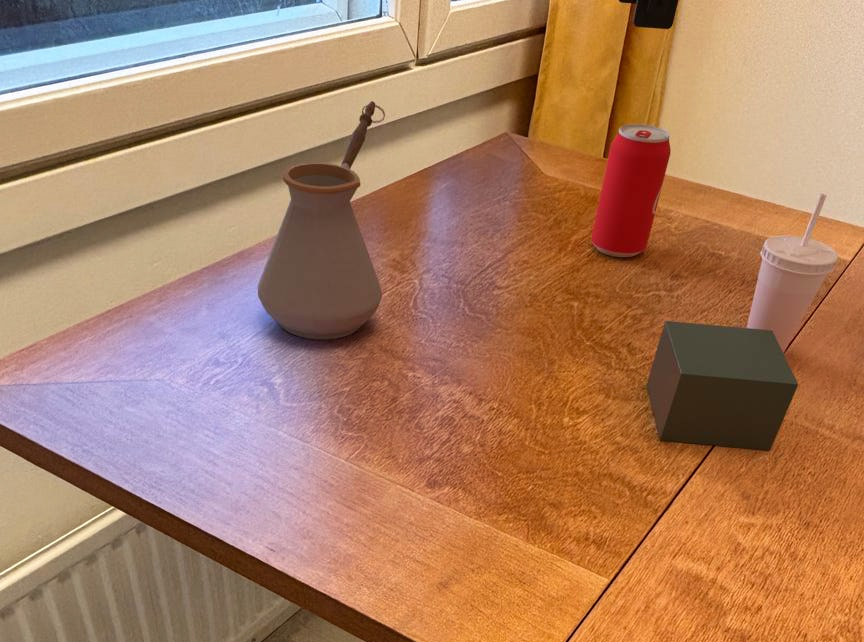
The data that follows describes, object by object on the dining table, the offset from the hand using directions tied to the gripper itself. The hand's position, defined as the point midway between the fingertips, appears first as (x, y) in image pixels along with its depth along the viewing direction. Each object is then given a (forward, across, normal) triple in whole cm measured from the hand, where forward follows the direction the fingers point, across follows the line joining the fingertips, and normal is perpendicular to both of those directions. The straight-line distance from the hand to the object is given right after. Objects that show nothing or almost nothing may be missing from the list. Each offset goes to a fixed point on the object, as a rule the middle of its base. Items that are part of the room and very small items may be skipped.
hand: (642, 14), depth 76 cm
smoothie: (+24, -12, -16) cm, 31 cm away
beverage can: (+24, +11, -5) cm, 27 cm away
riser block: (+24, -24, -8) cm, 35 cm away
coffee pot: (+24, -8, +25) cm, 36 cm away
